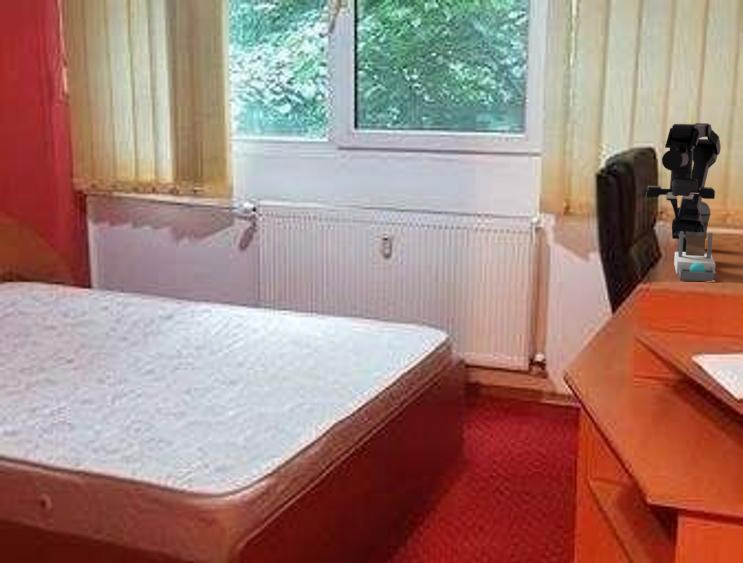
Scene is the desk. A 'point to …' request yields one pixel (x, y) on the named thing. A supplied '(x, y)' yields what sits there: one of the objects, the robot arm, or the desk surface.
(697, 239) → the lever
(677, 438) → the desk surface
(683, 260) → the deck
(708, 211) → the beverage cup
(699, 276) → the tray
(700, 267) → the ball
